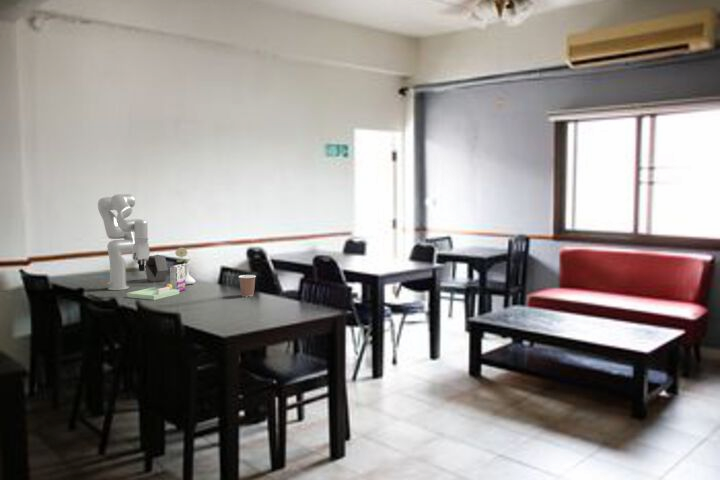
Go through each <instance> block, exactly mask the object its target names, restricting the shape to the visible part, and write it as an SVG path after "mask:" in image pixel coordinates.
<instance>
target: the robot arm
mask: <svg viewBox="0 0 720 480" xmlns="http://www.w3.org/2000/svg"><path fill="white" fill-rule="evenodd" d="M97 201H98V202H97V209H98V213H99V214H100V217H101V218H102V220H103V224H104V225H103V226H104V229H105V232H106V237H107V238H108V239H110V241H109V242H108V244H107V248H106V249H107V252H108V253H107V254H108V259H109V260H108V261H109V281H108V282H107V283H106V285H107V286H108V287H107V289H108V290H109V291H122V290H123V291H124V290H127V289H129V288H130V286H129V285H127V274H126V273H127V270H126V269H127V268H126V265H127V264H126V260H125V258H124V257H123V255H130V254H132V255H131V257H132V260H133V262H134V263H137V265H138V272H144V271H145V272H146V270H145V264H146V261H147V260H149V259H148V258H149V256H151V255H150V246H149V245H150V244H149V241H148V240H149V237H148V235H149V234H148V227H149V226H148V221H146V220H142V219H140V218H138V219H135V218H134V219H133V218H132V219H131V218H130V219H126V218H128V217H130V216H131V214H132V213H133V207H135V205H136V199H135V197H134V196H133V195H132V194H130V193H127V194H114V195H112V196H107V197H106V196H105V197H101V198H100V199H99V200H97ZM112 211H116V213H117V215H116V214H115V213H114V212H112Z"/></svg>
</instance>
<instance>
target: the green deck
mask: <svg viewBox="0 0 720 480" xmlns="http://www.w3.org/2000/svg"><path fill="white" fill-rule="evenodd" d="M155 290H157V294H156V293H154V292H155ZM175 295H180V292H179V290H176V289H172V290H170V287H166V286H165V287H148V288H145V289H140V290H134V291H130V292H127V293H126V298H131V299H141V300H142V299H143V300H154V301H155V300H159V299H162V298H168V297H172V296H175Z"/></svg>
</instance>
